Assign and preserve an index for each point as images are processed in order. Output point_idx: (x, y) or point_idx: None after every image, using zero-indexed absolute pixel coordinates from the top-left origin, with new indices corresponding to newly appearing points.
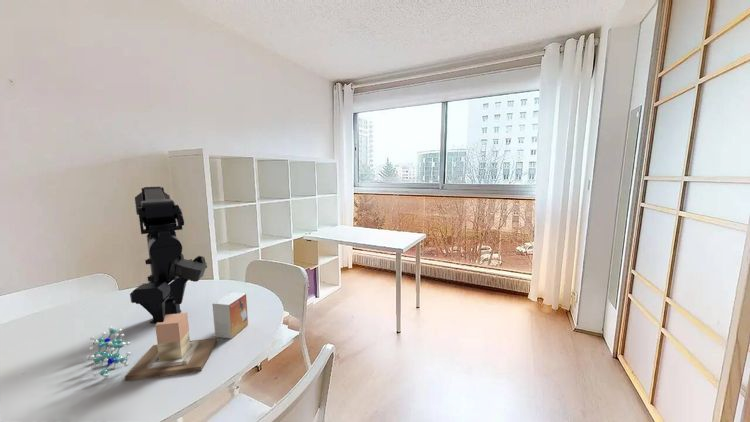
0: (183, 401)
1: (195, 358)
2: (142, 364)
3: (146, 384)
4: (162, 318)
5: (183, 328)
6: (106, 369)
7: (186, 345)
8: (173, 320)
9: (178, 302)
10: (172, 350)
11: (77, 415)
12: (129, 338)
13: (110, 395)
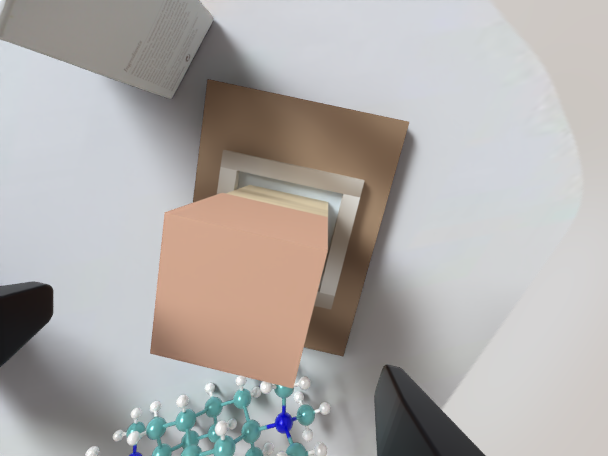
0: (552, 159)
1: (338, 153)
2: None
3: (390, 287)
4: (426, 399)
5: (273, 215)
6: (302, 415)
7: (276, 195)
8: (270, 289)
9: (37, 313)
10: None
11: (441, 409)
12: (92, 391)
13: (394, 363)
